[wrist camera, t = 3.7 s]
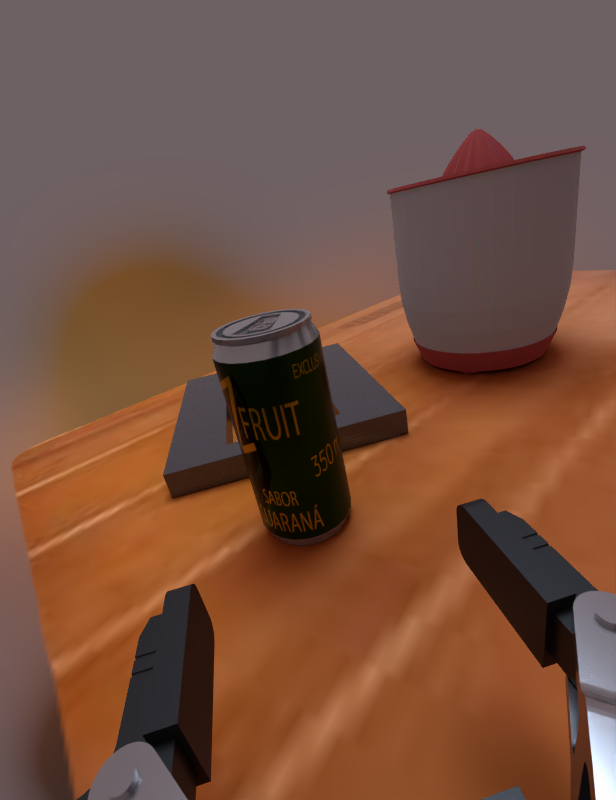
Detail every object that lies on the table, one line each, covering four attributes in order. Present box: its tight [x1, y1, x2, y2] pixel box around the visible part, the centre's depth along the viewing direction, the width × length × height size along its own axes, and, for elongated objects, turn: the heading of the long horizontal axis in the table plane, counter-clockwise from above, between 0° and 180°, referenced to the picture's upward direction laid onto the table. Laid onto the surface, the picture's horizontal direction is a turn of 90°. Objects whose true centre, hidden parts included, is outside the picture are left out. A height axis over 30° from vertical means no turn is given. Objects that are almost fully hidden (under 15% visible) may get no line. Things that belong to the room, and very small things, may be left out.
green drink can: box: [211, 309, 351, 546], centre depth 22 cm, size 5×5×12 cm
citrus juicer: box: [387, 129, 586, 374], centre depth 39 cm, size 16×17×20 cm
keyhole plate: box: [163, 343, 408, 498], centre depth 38 cm, size 20×18×2 cm
